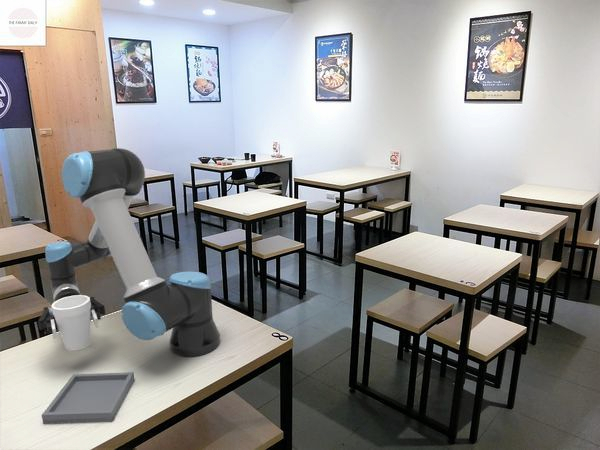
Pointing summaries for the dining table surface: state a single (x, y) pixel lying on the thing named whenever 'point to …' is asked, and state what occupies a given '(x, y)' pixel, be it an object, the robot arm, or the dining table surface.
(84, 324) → the foam cup
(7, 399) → the dining table surface
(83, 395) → the serving tray
